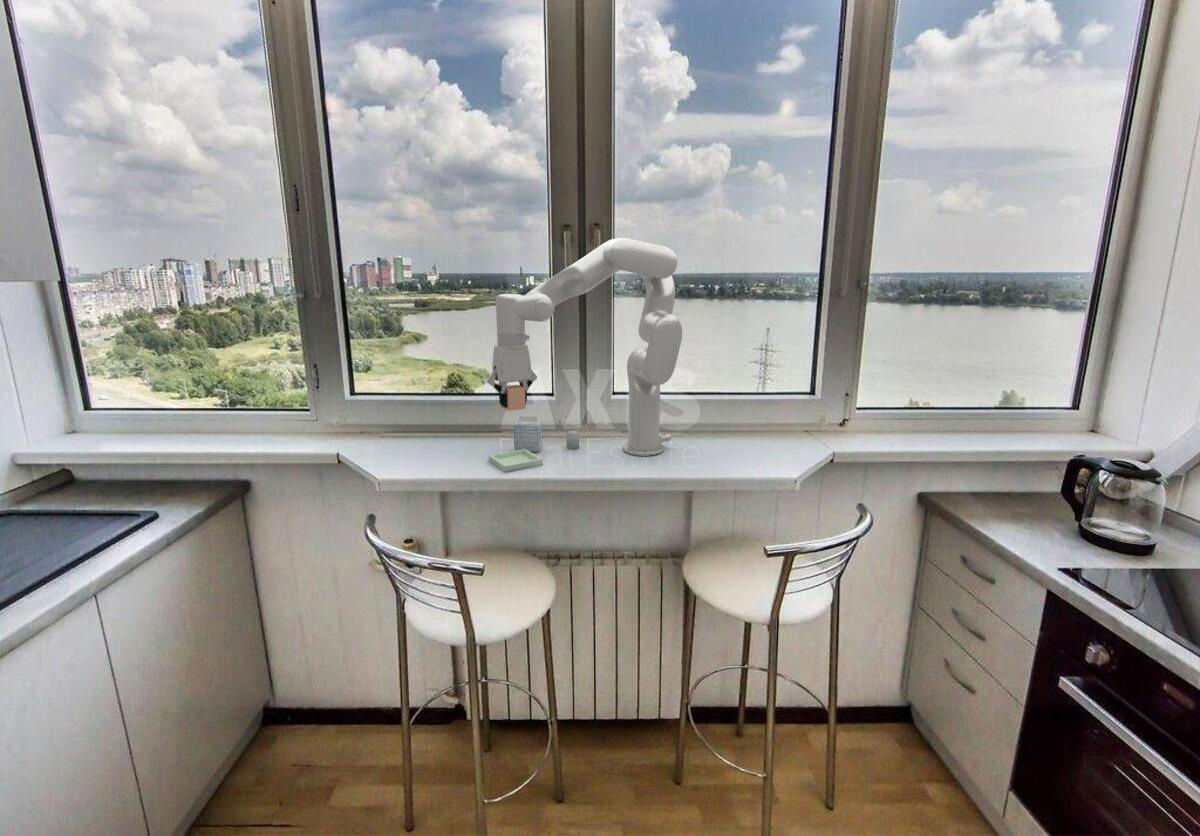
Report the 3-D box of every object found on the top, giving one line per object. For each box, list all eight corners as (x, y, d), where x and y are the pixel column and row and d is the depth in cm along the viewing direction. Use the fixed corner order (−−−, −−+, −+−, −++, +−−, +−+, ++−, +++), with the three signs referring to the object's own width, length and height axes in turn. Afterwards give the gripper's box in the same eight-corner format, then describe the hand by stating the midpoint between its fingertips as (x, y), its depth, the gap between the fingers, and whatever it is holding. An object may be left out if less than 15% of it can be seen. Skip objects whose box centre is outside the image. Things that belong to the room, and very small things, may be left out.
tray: (524, 454, 170) (524, 448, 170) (542, 465, 161) (542, 459, 160) (488, 461, 164) (488, 455, 163) (505, 472, 154) (504, 466, 154)
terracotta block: (517, 405, 161) (517, 384, 160) (525, 408, 157) (524, 387, 156) (501, 407, 159) (500, 386, 157) (509, 410, 155) (508, 389, 153)
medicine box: (542, 448, 176) (541, 421, 174) (539, 453, 172) (538, 425, 169) (517, 447, 177) (516, 421, 174) (514, 452, 172) (513, 424, 170)
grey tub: (575, 444, 180) (575, 429, 178) (581, 448, 176) (581, 432, 175) (564, 446, 177) (564, 431, 176) (570, 450, 174) (570, 434, 173)
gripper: (533, 337, 161) (534, 399, 165) (476, 340, 152) (479, 406, 156) (545, 339, 155) (546, 404, 159) (487, 343, 146) (490, 412, 150)
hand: (513, 404), depth 158 cm, fingers closed on terracotta block, 5 cm apart
